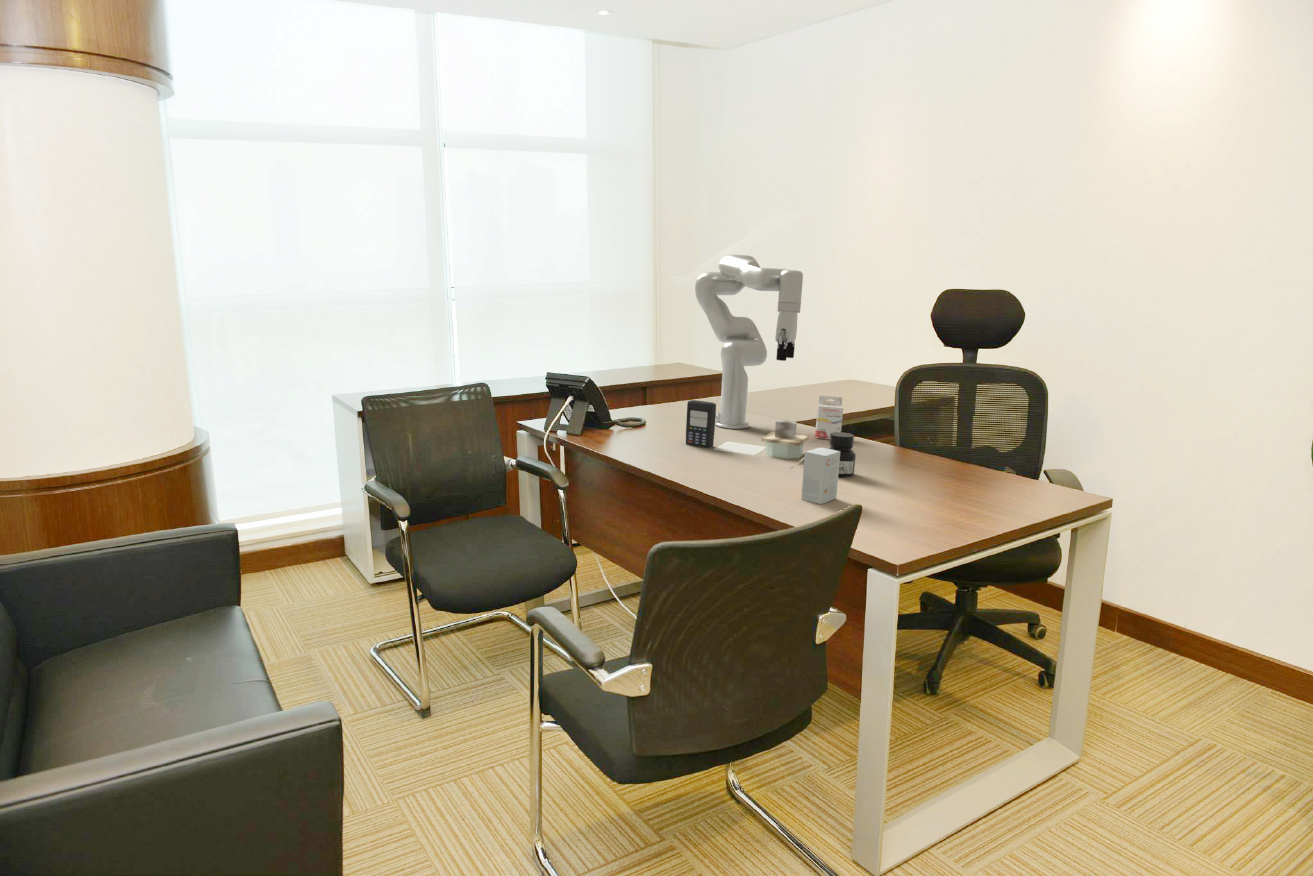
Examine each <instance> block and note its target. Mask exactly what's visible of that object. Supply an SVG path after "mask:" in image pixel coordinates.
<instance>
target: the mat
mask: <svg viewBox="0 0 1313 876" xmlns="http://www.w3.org/2000/svg"><path fill="white" fill-rule="evenodd" d="M765 449H766V445H765V446H764V445H763V446H762V445H755V444H749V443H741V442H734V441H725V442H724V443H722V444H720V445H718V446H717V447H715V448H713V449H712V450H715V451H722V452H729V453H734V454H735V453H736V454H743V455H744V454H745V455H749V456H756V455H757V454H759V453H761V452H762V451H764V450H765Z"/></svg>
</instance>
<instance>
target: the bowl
mask: <svg viewBox="0 0 1313 876" xmlns="http://www.w3.org/2000/svg"><path fill="white" fill-rule="evenodd" d="M804 443H805V442H803V443H802V444H801V445H799V446H794V445H786V444H779V443H771V442H765V447H766V448H765V449H764V450H765V452H764V453H765V454H766V455H768V456H770V457H772V458H773V457H774V458H779V459H800V457H803V453H804Z"/></svg>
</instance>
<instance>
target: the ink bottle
mask: <svg viewBox="0 0 1313 876" xmlns="http://www.w3.org/2000/svg"><path fill="white" fill-rule="evenodd" d="M854 438H855V435H854V434H852V433H850V432H848V433H847V432H842V431H841V432H833V433H831V434H830V439H829V448H828V449H832V450H836V451H840V462H839V473H838V478H850V477H853V476H854V475H855V468H856V467H855V466H856V455H857V454H856V452H855V451H854V450H853V448H854V440H855V439H854Z"/></svg>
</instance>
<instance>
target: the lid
mask: <svg viewBox="0 0 1313 876" xmlns="http://www.w3.org/2000/svg"><path fill="white" fill-rule="evenodd" d="M797 424H798V423H797V421H791V420H783V419H777V420H775V425H774V426H775V427H774V428H775V429H774V431H771V432H769V433H767V434H766V435H764V436H763V437H761V438H760V439H761V440H760V441H761V442H765V443H766V442H771V443H779V444H786V445H794V446H799V445H801V444H802V443H803V442H804V443H805V442H806V441H808V440H809V435H804V434H803V435H801V434H797Z"/></svg>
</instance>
